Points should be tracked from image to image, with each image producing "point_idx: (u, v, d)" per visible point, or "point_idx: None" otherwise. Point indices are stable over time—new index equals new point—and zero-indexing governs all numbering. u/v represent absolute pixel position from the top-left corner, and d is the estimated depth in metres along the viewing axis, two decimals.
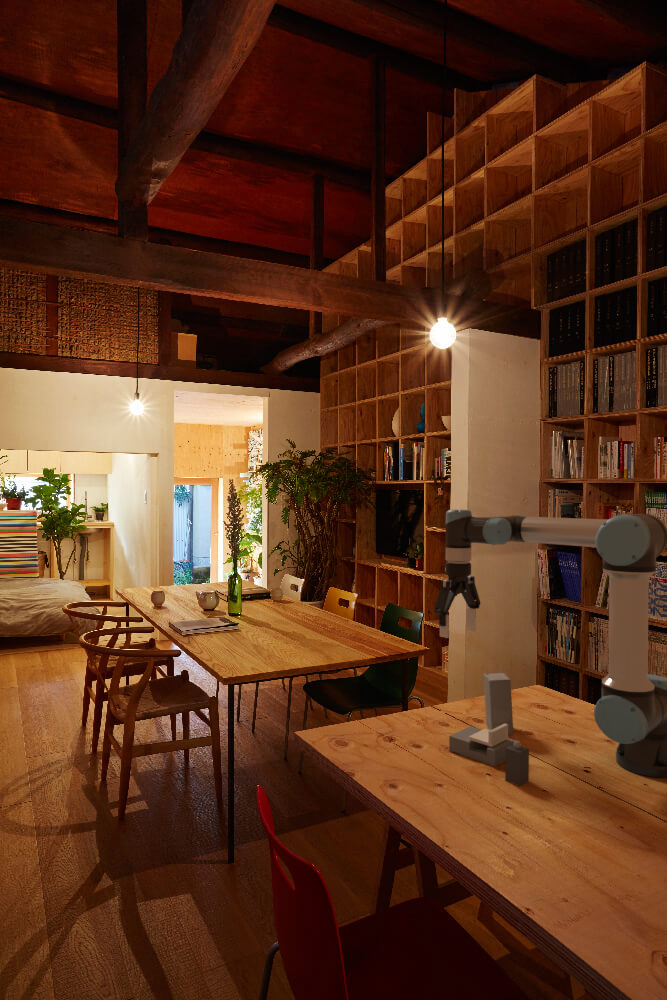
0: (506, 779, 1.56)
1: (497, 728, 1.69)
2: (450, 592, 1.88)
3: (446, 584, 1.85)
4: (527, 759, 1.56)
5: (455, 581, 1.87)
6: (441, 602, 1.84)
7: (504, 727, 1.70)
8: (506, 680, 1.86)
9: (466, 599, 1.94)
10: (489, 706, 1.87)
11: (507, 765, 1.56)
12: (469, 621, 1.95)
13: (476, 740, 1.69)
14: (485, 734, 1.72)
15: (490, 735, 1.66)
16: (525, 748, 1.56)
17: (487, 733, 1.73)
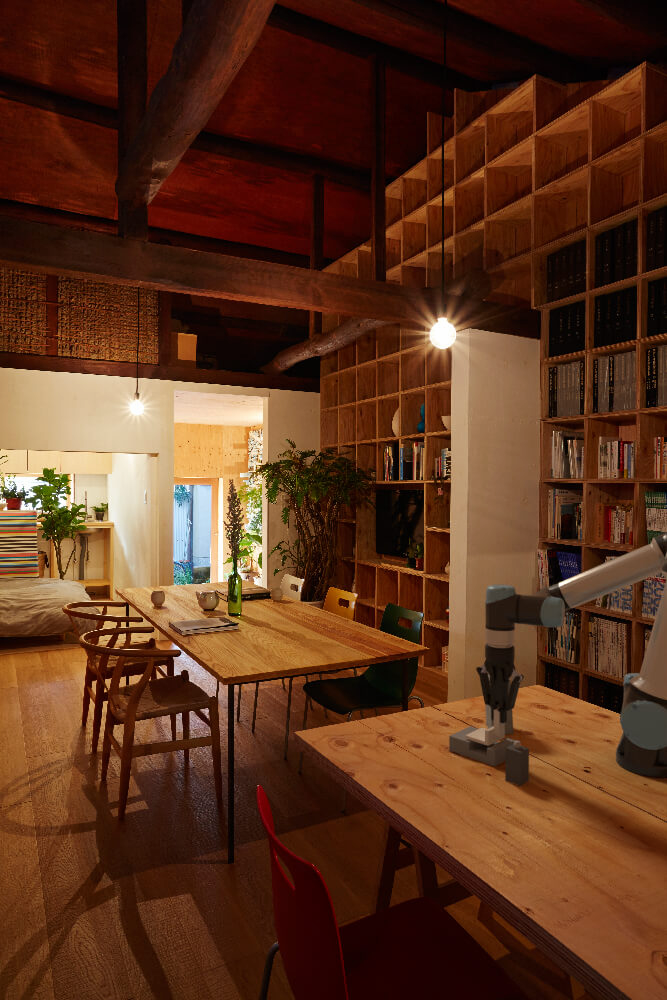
0: (506, 779, 1.56)
1: (493, 727, 1.69)
2: None
3: None
4: (527, 759, 1.56)
5: (486, 663, 1.70)
6: None
7: None
8: None
9: None
10: (489, 706, 1.87)
11: (507, 765, 1.56)
12: None
13: (473, 739, 1.70)
14: (482, 733, 1.73)
15: (486, 734, 1.67)
16: (525, 748, 1.56)
17: (484, 732, 1.74)
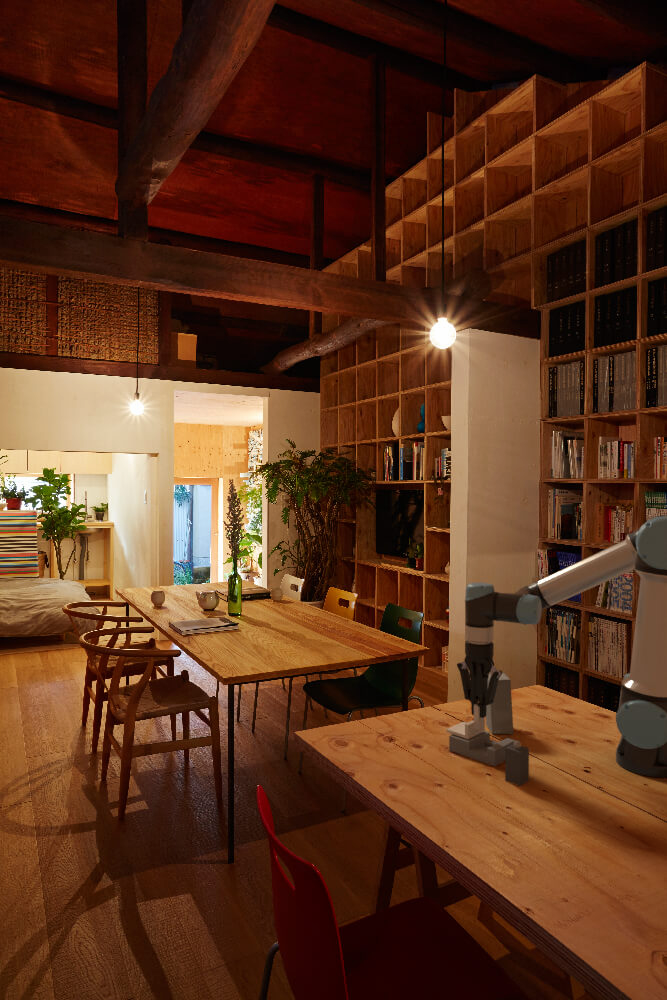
0: (506, 779, 1.56)
1: (473, 721, 1.74)
2: None
3: None
4: (527, 759, 1.56)
5: (466, 659, 1.75)
6: None
7: None
8: (506, 680, 1.86)
9: None
10: (489, 706, 1.87)
11: (507, 765, 1.56)
12: None
13: (453, 733, 1.74)
14: (462, 727, 1.77)
15: (466, 728, 1.71)
16: (525, 748, 1.56)
17: (464, 726, 1.78)
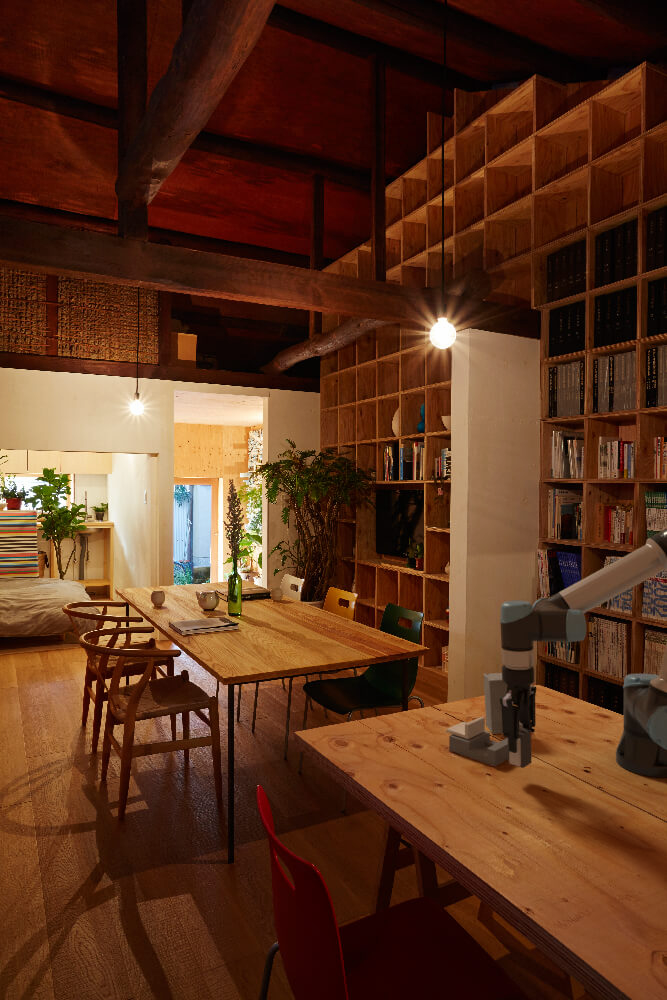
0: None
1: (473, 721, 1.74)
2: (513, 707, 1.54)
3: (507, 704, 1.51)
4: (529, 741, 1.56)
5: (515, 691, 1.53)
6: (508, 726, 1.52)
7: (480, 720, 1.75)
8: None
9: (521, 716, 1.58)
10: (489, 706, 1.87)
11: None
12: None
13: (453, 733, 1.74)
14: (462, 727, 1.77)
15: (466, 728, 1.71)
16: (527, 730, 1.56)
17: (464, 726, 1.78)
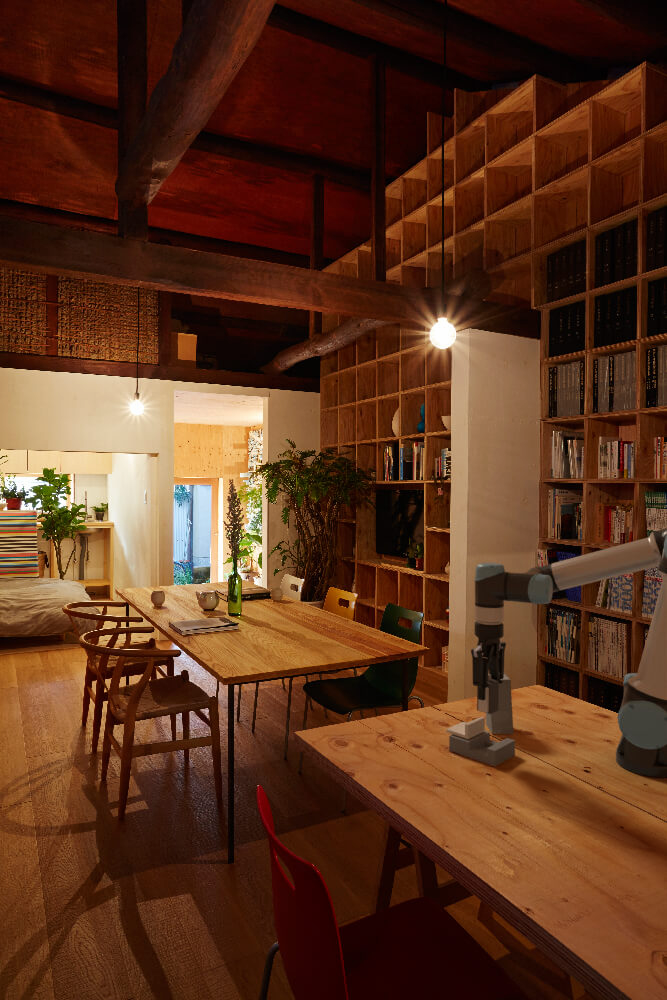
0: (477, 709, 1.71)
1: (473, 721, 1.74)
2: (483, 659, 1.69)
3: (477, 655, 1.66)
4: (497, 691, 1.71)
5: (486, 644, 1.68)
6: (478, 675, 1.67)
7: (480, 720, 1.75)
8: (506, 680, 1.86)
9: (491, 668, 1.73)
10: None
11: None
12: None
13: (453, 733, 1.74)
14: (462, 727, 1.77)
15: (466, 728, 1.71)
16: (495, 681, 1.71)
17: (464, 726, 1.78)
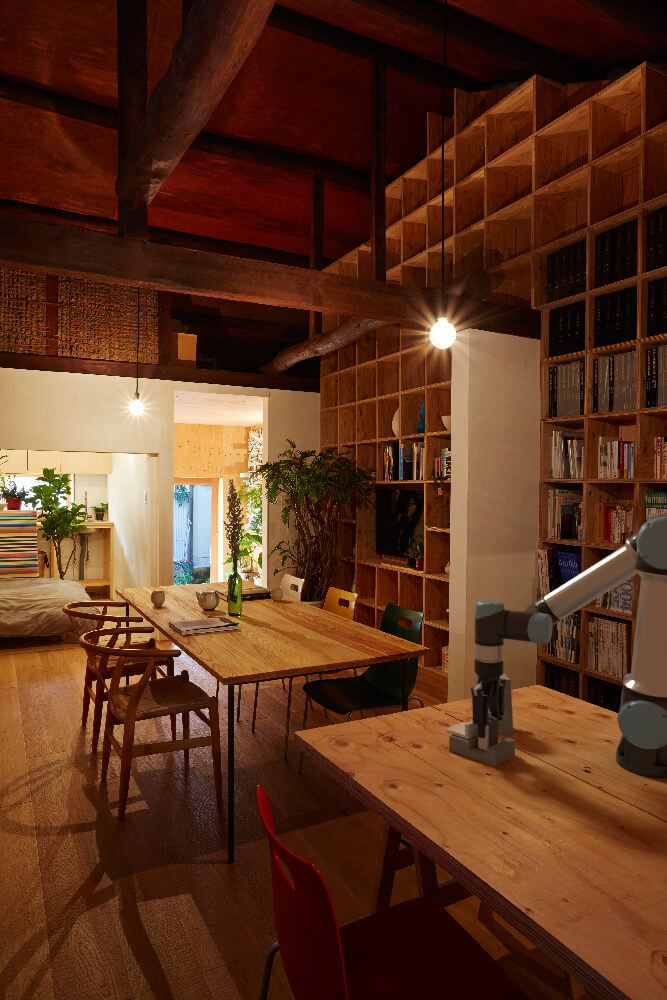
0: None
1: None
2: (483, 697, 1.69)
3: (477, 694, 1.66)
4: (497, 728, 1.71)
5: (485, 682, 1.68)
6: (478, 713, 1.67)
7: None
8: (506, 680, 1.86)
9: (491, 705, 1.73)
10: None
11: None
12: None
13: (453, 733, 1.74)
14: (462, 727, 1.77)
15: (466, 728, 1.71)
16: (495, 718, 1.71)
17: (464, 726, 1.78)
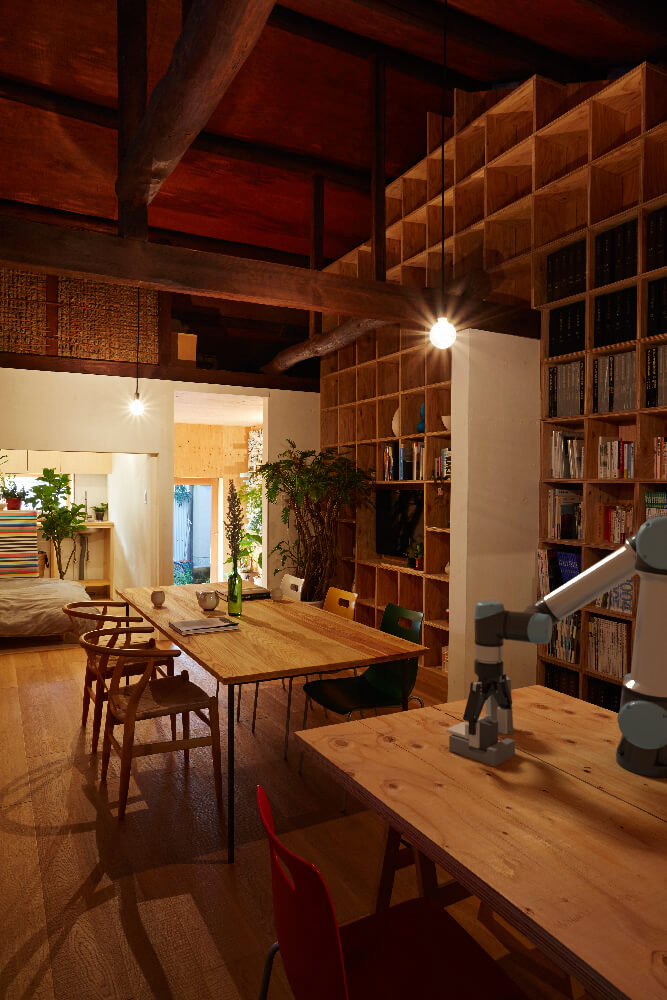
0: None
1: None
2: (480, 695, 1.68)
3: (476, 688, 1.66)
4: (496, 731, 1.71)
5: (486, 683, 1.68)
6: (471, 709, 1.64)
7: None
8: (506, 680, 1.86)
9: (497, 699, 1.75)
10: (489, 706, 1.87)
11: None
12: (500, 722, 1.76)
13: (453, 733, 1.74)
14: (462, 727, 1.77)
15: (466, 728, 1.71)
16: (495, 721, 1.71)
17: (464, 726, 1.78)
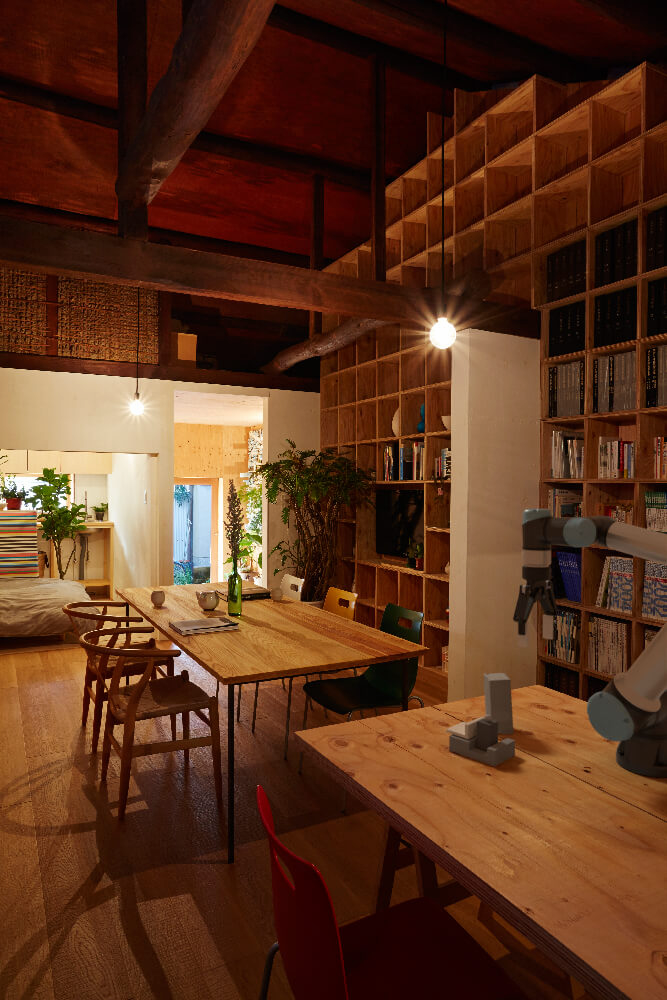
0: None
1: (473, 721, 1.74)
2: (529, 598, 1.73)
3: (526, 589, 1.71)
4: (496, 731, 1.71)
5: (534, 586, 1.73)
6: (521, 609, 1.70)
7: None
8: (506, 680, 1.86)
9: (543, 605, 1.80)
10: (489, 706, 1.87)
11: (478, 737, 1.71)
12: (546, 628, 1.81)
13: (453, 733, 1.74)
14: (462, 727, 1.77)
15: (466, 728, 1.71)
16: (495, 721, 1.71)
17: (464, 726, 1.78)
